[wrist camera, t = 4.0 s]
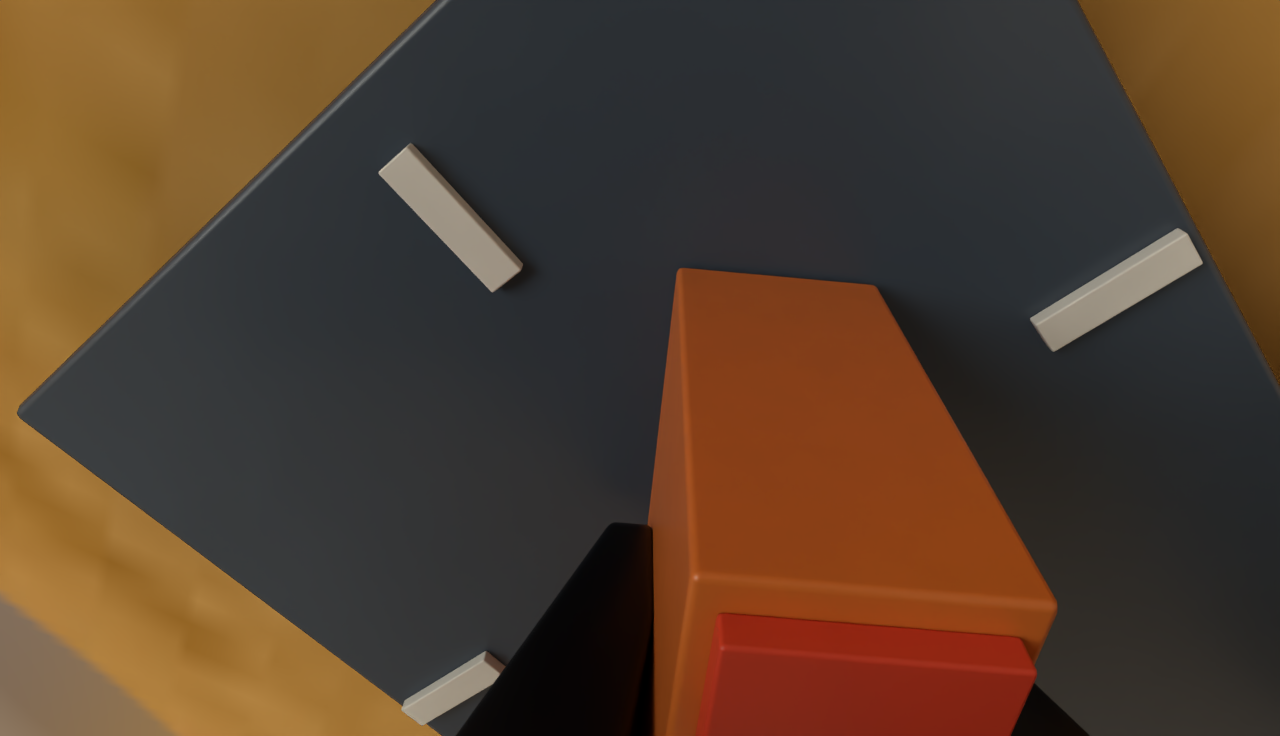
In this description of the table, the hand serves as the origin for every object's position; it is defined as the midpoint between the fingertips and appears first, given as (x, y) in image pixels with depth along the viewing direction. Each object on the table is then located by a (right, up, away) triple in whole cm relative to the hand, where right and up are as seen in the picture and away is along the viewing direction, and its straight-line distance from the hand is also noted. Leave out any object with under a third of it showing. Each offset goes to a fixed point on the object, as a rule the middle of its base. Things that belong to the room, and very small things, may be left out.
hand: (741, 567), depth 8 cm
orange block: (0, 0, +1) cm, 1 cm away
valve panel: (+1, +1, +4) cm, 4 cm away
